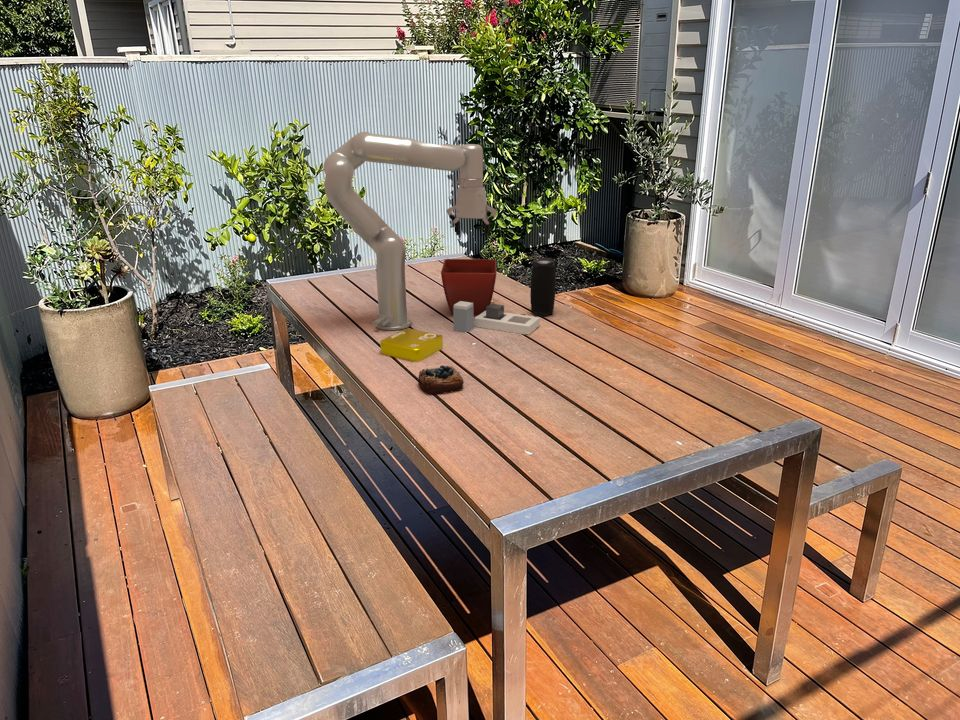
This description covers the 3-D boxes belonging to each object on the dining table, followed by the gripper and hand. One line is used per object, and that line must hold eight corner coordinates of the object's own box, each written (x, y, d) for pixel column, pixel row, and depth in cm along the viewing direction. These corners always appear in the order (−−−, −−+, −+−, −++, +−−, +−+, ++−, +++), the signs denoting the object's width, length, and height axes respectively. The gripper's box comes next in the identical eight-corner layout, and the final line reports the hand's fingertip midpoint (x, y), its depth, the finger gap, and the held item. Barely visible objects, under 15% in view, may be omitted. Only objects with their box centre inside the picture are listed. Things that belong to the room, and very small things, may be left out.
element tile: (407, 339, 229) (406, 325, 227) (445, 348, 222) (445, 333, 220) (378, 354, 217) (377, 340, 215) (417, 363, 210) (417, 348, 208)
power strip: (528, 335, 232) (529, 316, 229) (474, 326, 240) (474, 308, 237) (547, 319, 247) (548, 301, 244) (495, 311, 254) (495, 294, 252)
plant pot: (496, 319, 247) (496, 272, 240) (441, 319, 247) (440, 272, 241) (496, 303, 264) (496, 259, 258) (445, 302, 265) (444, 258, 258)
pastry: (414, 382, 197) (413, 362, 195) (454, 375, 201) (454, 356, 199) (425, 397, 188) (425, 377, 185) (468, 390, 192) (467, 371, 189)
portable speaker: (528, 316, 249) (529, 262, 242) (532, 308, 257) (533, 256, 250) (552, 318, 247) (554, 264, 240) (555, 310, 256) (557, 257, 249)
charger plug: (467, 332, 234) (466, 306, 231) (453, 330, 236) (453, 305, 233) (473, 328, 238) (473, 302, 235) (460, 326, 240) (460, 300, 237)
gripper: (443, 184, 230) (444, 236, 237) (495, 185, 227) (495, 238, 234) (448, 181, 237) (449, 231, 244) (499, 182, 234) (499, 233, 240)
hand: (472, 234), depth 239 cm, fingers open, 9 cm apart
